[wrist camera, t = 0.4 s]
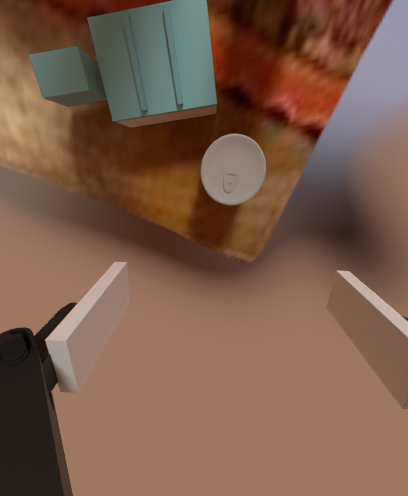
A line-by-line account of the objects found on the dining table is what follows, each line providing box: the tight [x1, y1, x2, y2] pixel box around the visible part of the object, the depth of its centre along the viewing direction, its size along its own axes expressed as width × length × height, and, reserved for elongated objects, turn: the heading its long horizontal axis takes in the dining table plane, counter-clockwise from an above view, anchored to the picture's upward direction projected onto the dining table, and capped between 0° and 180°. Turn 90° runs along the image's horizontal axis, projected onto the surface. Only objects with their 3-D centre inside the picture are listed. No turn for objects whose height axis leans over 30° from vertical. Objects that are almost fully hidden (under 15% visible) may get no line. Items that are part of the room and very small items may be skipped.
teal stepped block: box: [29, 0, 217, 122], centre depth 27 cm, size 20×10×5 cm, turn 98°
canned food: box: [200, 134, 266, 205], centre depth 32 cm, size 8×8×11 cm
